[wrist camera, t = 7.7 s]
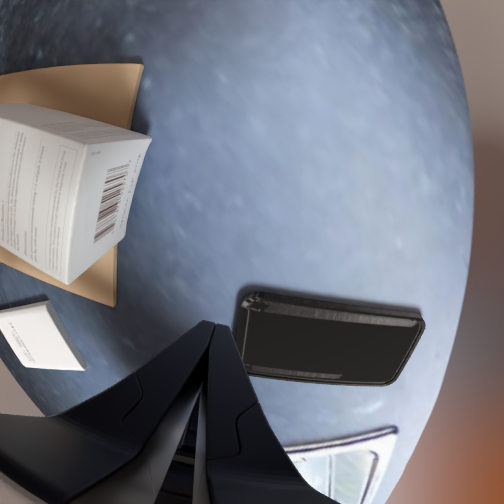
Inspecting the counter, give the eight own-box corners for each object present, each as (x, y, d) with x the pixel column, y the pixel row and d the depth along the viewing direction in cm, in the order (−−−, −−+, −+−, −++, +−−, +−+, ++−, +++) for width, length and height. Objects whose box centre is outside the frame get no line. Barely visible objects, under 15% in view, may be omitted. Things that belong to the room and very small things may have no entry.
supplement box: (156, 135, 16) (27, 99, 15) (88, 143, 10) (-44, 104, 8) (126, 238, 19) (11, 184, 18) (67, 292, 12) (-52, 211, 11)
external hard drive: (91, 362, 26) (30, 361, 28) (53, 296, 23) (-2, 308, 25) (84, 371, 25) (24, 368, 27) (44, 305, 22) (-9, 315, 24)
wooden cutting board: (116, 303, 22) (113, 307, 21) (-9, 253, 22) (-13, 255, 21) (144, 65, 15) (140, 63, 14) (-4, 77, 15) (-9, 77, 14)
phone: (242, 294, 20) (429, 319, 20) (244, 286, 21) (424, 311, 21) (229, 373, 23) (392, 387, 23) (231, 364, 24) (388, 379, 24)
